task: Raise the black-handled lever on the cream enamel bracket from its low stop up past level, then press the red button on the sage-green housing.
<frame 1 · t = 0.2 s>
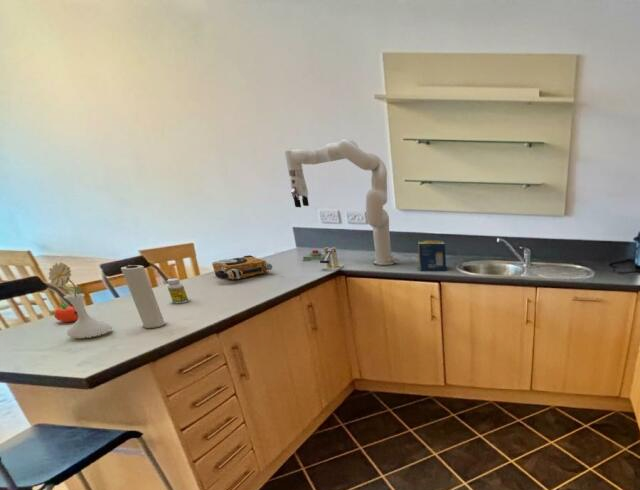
hand: (302, 206, 243), 31 cm above the counter, tool pointing down, fingers open, 9 cm apart
lever: (327, 256, 232), point 8 cm above the counter, hinge at -25.0°
protein box: (432, 269, 249), on the counter
tomato: (71, 321, 153), on the counter
button box: (316, 259, 261), on the counter
device: (242, 276, 218), on the counter
flower in vase: (93, 336, 142), on the counter
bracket: (333, 268, 240), on the counter
button: (315, 251, 259), point 4 cm above the counter, slide at 0.1 cm
paper towel roll: (155, 325, 152), on the counter
supplement bottle: (181, 302, 177), on the counter
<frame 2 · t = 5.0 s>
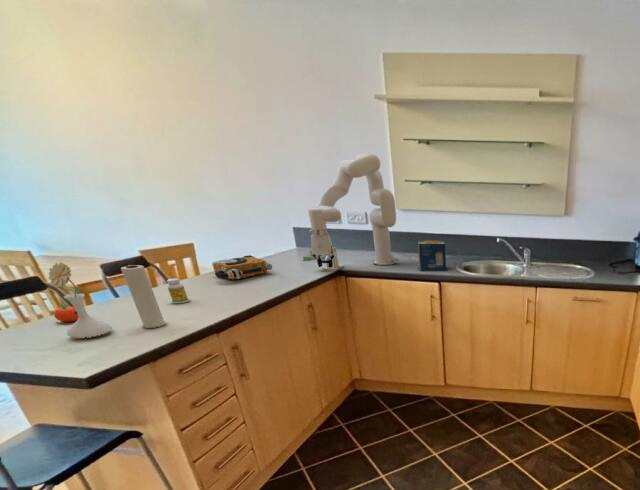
hand: (325, 266, 230), 3 cm above the counter, tool pointing down, fingers closed on lever, 5 cm apart
lever: (327, 256, 232), point 8 cm above the counter, hinge at -25.0°, touching gripper
everything else where it was.
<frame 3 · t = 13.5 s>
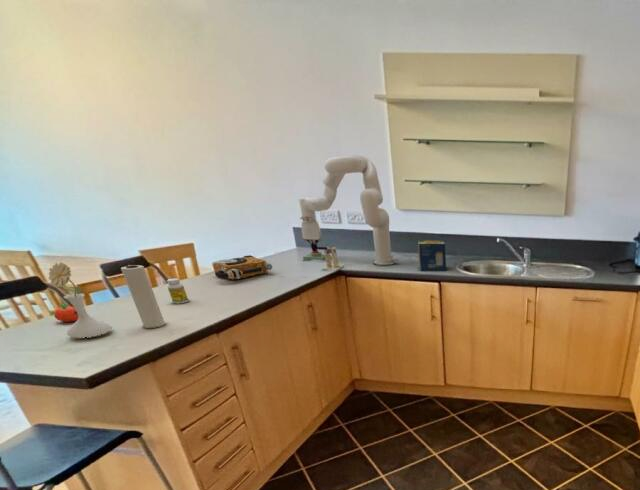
hand: (314, 250, 259), 5 cm above the counter, tool pointing down, fingers closed
lever: (326, 249, 231), point 11 cm above the counter, hinge at 18.4°
button: (315, 252, 259), point 4 cm above the counter, slide at 0.0 cm, touching gripper
everything else where it was.
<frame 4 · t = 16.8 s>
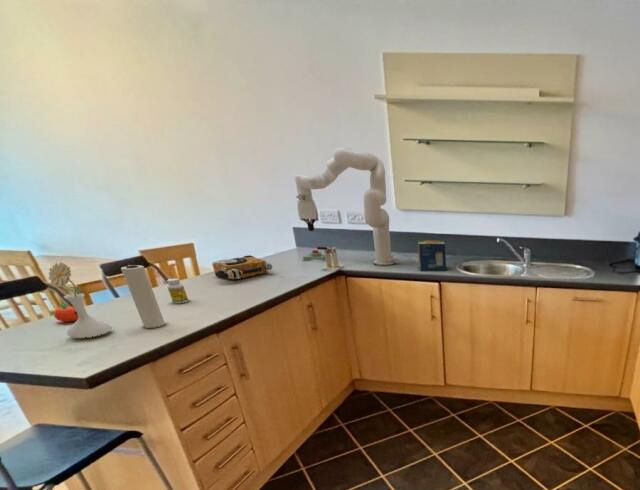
hand: (311, 230, 253), 17 cm above the counter, tool pointing down, fingers closed
button: (315, 251, 259), point 4 cm above the counter, slide at 0.1 cm
everything else where it was.
at the end: lever at +18° (first picture: -25°); button pushed in 1.1 cm at the most during the clip, back to where it started at the end; button slide at 0.1 cm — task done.
